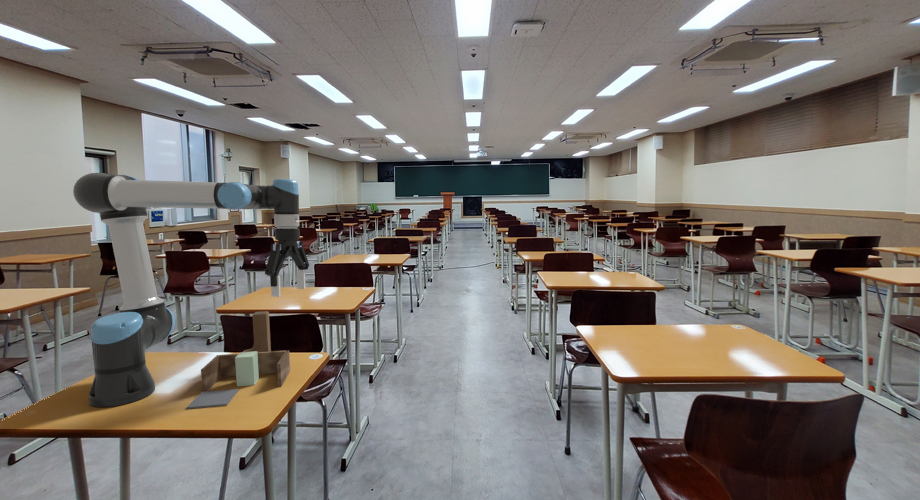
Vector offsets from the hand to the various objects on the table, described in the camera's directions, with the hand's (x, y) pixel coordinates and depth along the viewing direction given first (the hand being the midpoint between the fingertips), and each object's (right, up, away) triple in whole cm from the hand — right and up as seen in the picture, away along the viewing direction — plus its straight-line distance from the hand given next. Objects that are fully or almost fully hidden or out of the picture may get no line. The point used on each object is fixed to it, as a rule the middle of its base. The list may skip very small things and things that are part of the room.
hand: (289, 292), depth 142 cm
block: (-10, -27, -7) cm, 30 cm away
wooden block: (-15, -26, +9) cm, 31 cm away
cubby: (-10, -27, -6) cm, 30 cm away
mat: (-14, -28, -19) cm, 37 cm away
